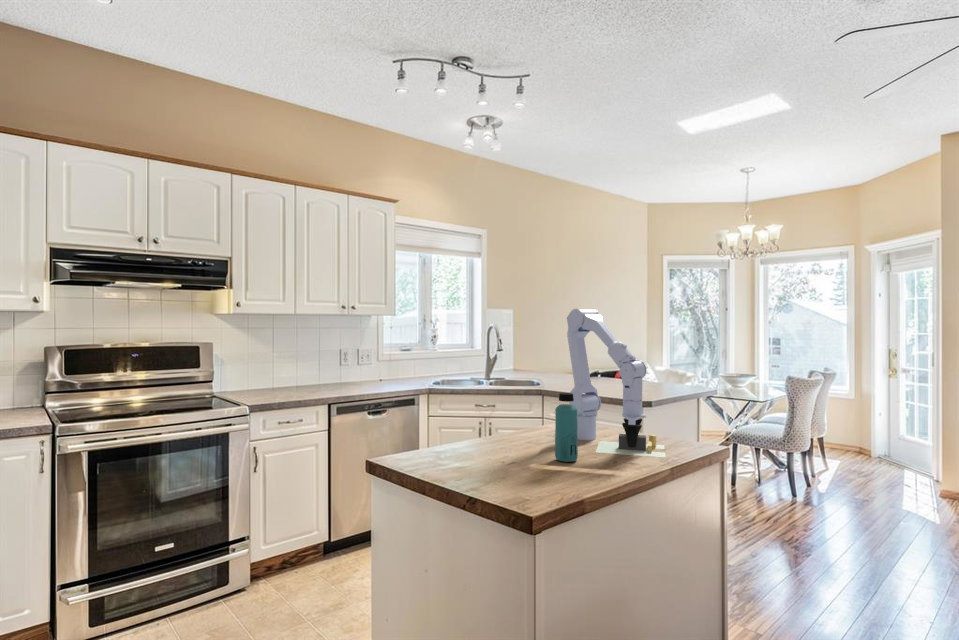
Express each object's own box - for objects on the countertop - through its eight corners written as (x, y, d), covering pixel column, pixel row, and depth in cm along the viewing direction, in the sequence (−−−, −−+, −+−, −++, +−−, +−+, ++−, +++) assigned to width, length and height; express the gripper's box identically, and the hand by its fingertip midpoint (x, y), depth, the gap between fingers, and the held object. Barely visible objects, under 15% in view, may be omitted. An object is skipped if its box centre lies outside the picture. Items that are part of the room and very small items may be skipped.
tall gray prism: (618, 449, 170) (618, 436, 170) (619, 446, 173) (619, 433, 173) (645, 451, 168) (646, 437, 168) (645, 448, 171) (645, 435, 171)
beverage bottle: (571, 468, 152) (571, 395, 152) (550, 464, 156) (550, 393, 156) (582, 463, 157) (582, 392, 157) (561, 459, 161) (561, 390, 161)
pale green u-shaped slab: (595, 455, 166) (595, 440, 166) (599, 443, 181) (599, 430, 181) (665, 460, 160) (665, 445, 160) (664, 448, 175) (664, 434, 175)
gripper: (646, 404, 162) (645, 450, 162) (646, 397, 176) (645, 440, 176) (621, 402, 164) (621, 448, 164) (623, 396, 178) (622, 438, 178)
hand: (632, 444), depth 170 cm, fingers open, 7 cm apart
